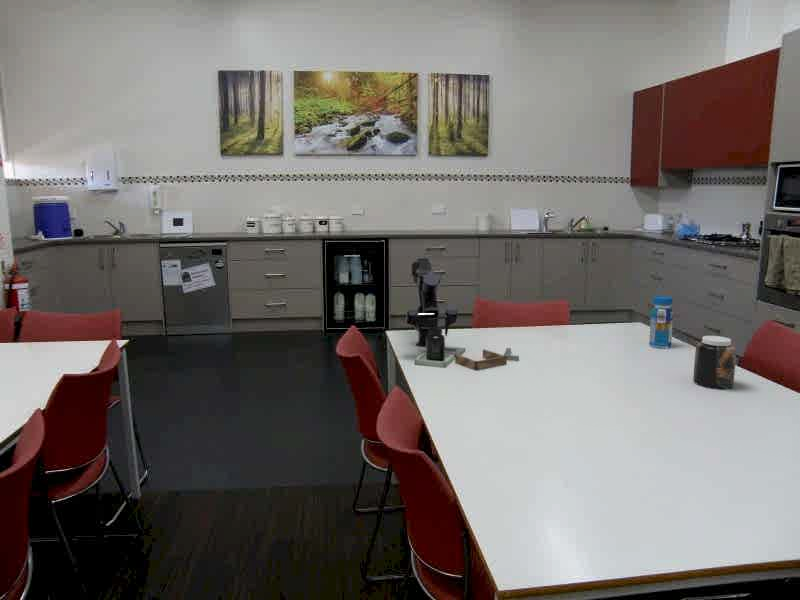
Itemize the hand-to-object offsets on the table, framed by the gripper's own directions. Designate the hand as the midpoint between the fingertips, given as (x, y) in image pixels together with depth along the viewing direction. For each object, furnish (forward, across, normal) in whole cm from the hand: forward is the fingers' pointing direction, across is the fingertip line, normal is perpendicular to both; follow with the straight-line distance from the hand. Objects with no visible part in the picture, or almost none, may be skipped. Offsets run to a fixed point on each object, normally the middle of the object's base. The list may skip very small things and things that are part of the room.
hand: (433, 336), depth 236 cm
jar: (+33, -85, +21) cm, 94 cm away
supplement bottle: (+8, 0, -4) cm, 9 cm away
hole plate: (0, -8, -14) cm, 15 cm away
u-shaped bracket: (+10, -16, -3) cm, 19 cm away
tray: (+8, 0, -5) cm, 9 cm away
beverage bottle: (-1, -92, -14) cm, 94 cm away
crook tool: (+5, -30, -8) cm, 32 cm away
